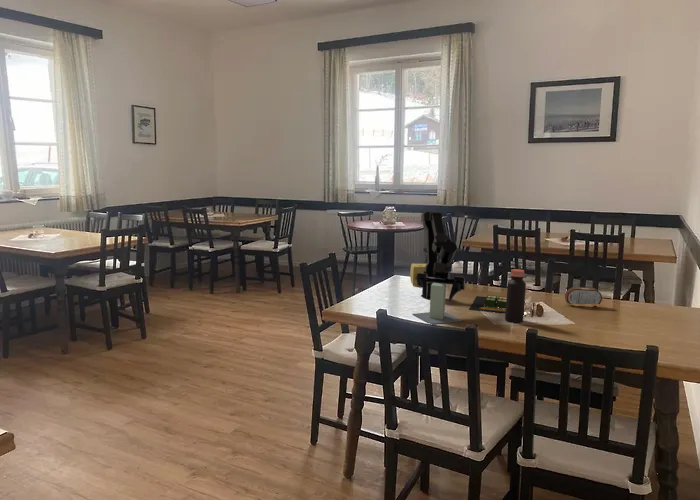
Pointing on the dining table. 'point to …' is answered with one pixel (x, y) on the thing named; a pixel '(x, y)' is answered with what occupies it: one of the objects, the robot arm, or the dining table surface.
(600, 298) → the tin
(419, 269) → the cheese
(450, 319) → the mat
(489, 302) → the sushi
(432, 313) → the block
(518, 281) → the bottle
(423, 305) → the dining table surface
